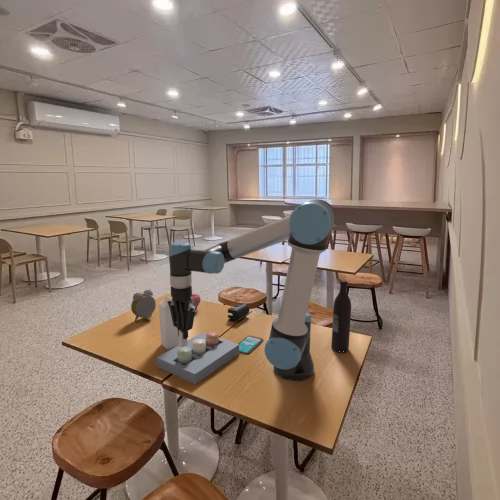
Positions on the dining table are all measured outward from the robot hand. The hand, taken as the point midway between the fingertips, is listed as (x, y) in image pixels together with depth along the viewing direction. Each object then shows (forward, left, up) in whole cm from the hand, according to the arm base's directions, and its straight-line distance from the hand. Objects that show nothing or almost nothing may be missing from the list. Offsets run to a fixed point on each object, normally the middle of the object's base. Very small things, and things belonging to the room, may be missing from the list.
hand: (183, 345), depth 126 cm
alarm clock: (+50, -21, -10) cm, 55 cm away
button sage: (0, 0, -6) cm, 6 cm away
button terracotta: (0, -16, -6) cm, 17 cm away
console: (0, -8, -10) cm, 13 cm away
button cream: (0, -8, -6) cm, 10 cm away
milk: (+19, -10, -10) cm, 23 cm away
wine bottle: (-43, -48, -10) cm, 65 cm away
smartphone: (-9, -29, -10) cm, 32 cm away
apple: (+39, -44, -10) cm, 60 cm away
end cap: (+11, -49, -10) cm, 51 cm away
